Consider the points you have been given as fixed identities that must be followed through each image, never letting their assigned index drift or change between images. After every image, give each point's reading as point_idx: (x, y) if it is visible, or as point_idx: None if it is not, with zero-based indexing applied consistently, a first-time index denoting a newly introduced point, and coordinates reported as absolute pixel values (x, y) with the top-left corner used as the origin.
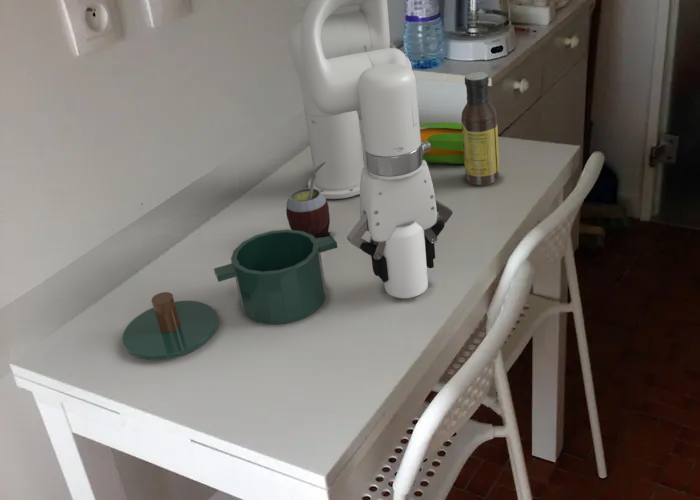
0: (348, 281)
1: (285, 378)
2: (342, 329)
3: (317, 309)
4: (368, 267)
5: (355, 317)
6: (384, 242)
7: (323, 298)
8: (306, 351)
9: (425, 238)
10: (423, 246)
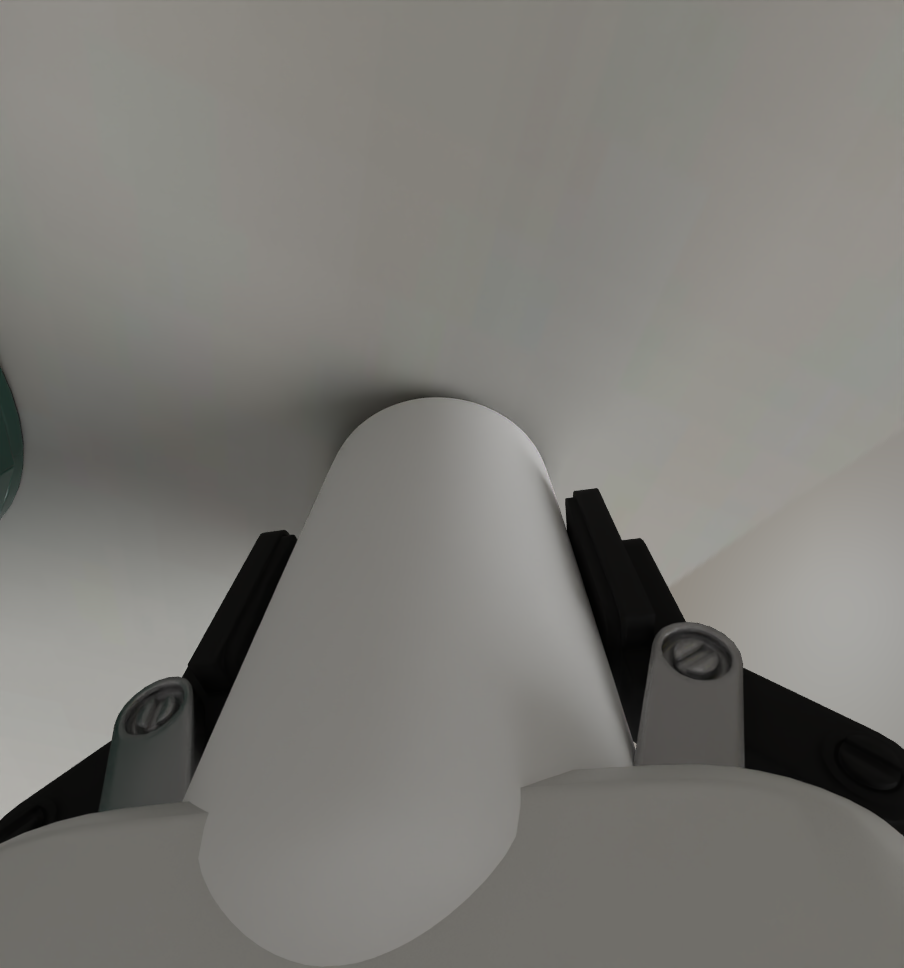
0: (126, 306)
1: (9, 763)
2: (150, 642)
3: (4, 512)
4: (251, 169)
5: (195, 598)
6: None
7: (4, 481)
8: (39, 697)
9: (634, 730)
10: None
